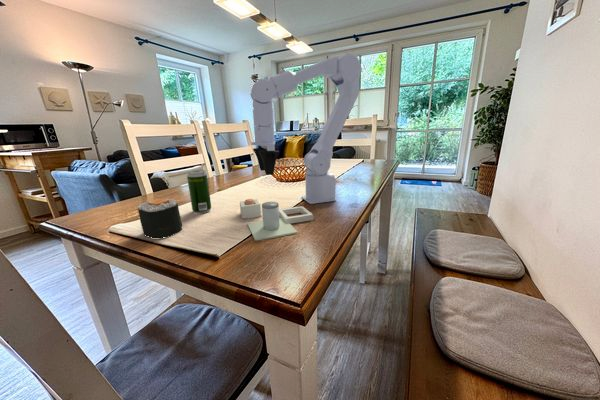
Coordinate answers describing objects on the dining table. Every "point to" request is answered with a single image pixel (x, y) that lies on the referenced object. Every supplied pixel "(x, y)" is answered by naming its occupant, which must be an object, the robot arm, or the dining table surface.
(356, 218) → the dining table surface
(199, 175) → the beer can
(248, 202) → the release button
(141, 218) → the sushi
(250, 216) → the button housing
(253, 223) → the mat
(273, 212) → the cylinder
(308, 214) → the dock
